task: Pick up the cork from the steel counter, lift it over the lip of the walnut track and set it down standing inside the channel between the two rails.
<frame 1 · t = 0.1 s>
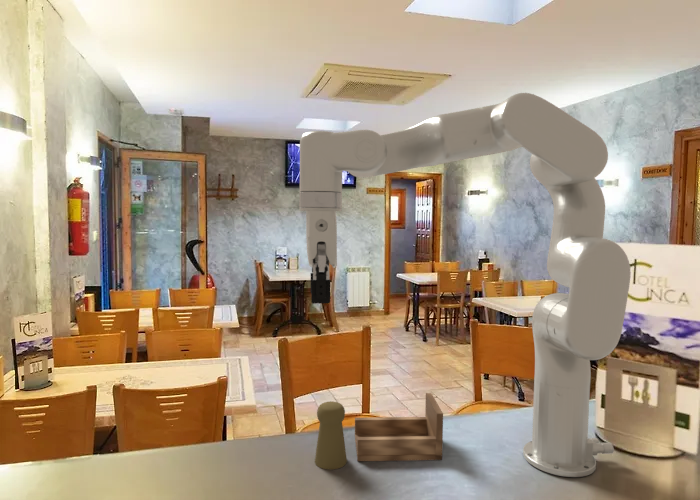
hand: (319, 298, 87), 31 cm above the bar counter, tool pointing down, fingers open, 9 cm apart
cork: (330, 462, 90), on the bar counter
walnut track: (396, 447, 96), on the bar counter
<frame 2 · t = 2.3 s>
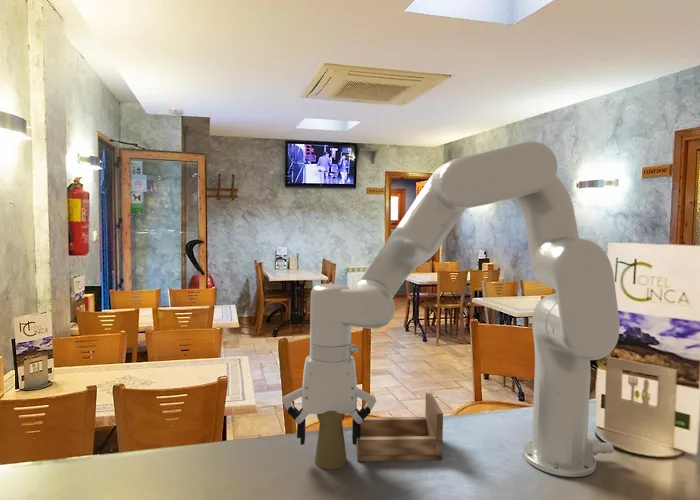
hand: (328, 441, 90), 4 cm above the bar counter, tool pointing down, fingers open, 9 cm apart
nothing on the bar counter moved.
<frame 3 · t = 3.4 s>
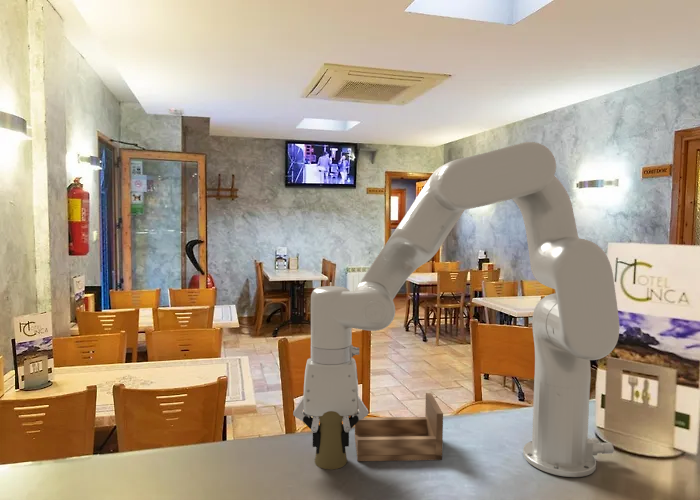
hand: (330, 449, 90), 2 cm above the bar counter, tool pointing down, fingers closed on cork, 4 cm apart
cork: (330, 462, 90), on the bar counter, touching gripper
when the fingers open (5 cm above the bar counter, at t = 8.8 s): cork drops 1 cm, resting on walnut track.
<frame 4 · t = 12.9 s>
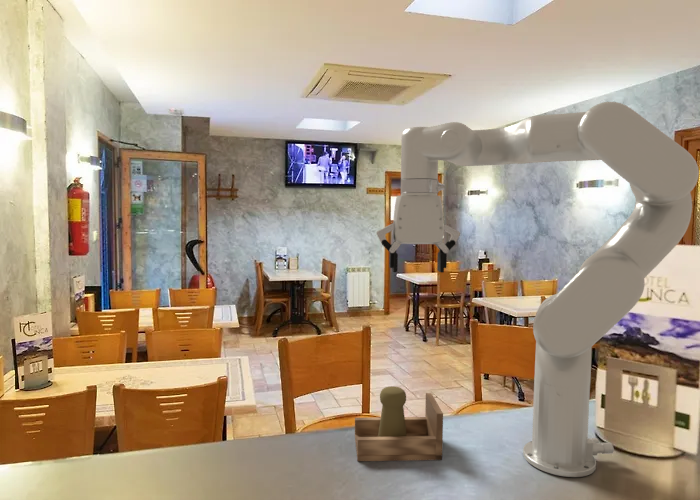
hand: (417, 271, 100), 34 cm above the bar counter, tool pointing down, fingers open, 9 cm apart
cork: (392, 443, 96), point 1 cm above the bar counter, touching walnut track
at the end: cork inside the target area on the walnut track (0.3 cm from its centre), point 0.8 cm above the walnut track's base; cork tilted 0°; the gripper is holding nothing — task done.
